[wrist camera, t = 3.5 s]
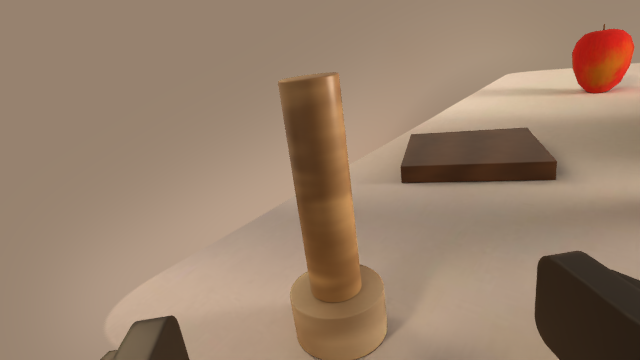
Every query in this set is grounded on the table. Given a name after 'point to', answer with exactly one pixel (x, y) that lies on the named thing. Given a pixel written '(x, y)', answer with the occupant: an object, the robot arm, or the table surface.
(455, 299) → the table surface
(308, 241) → the wooden peg stand
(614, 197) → the table surface
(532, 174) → the board
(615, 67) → the apple
